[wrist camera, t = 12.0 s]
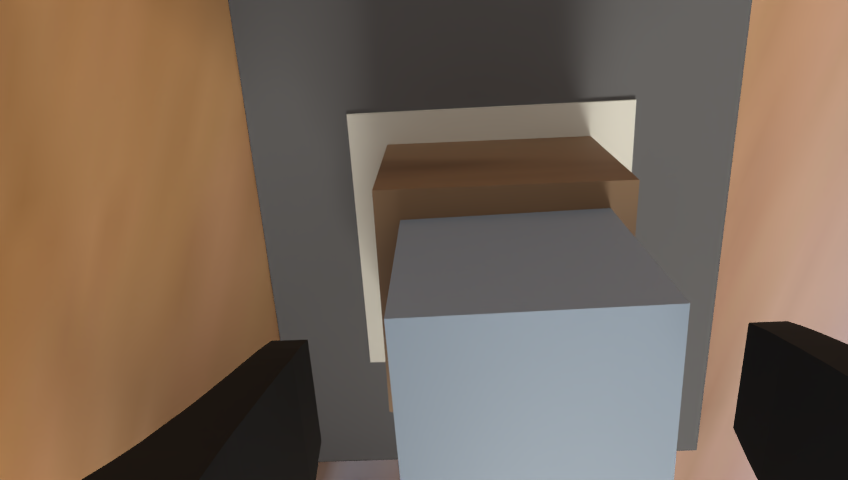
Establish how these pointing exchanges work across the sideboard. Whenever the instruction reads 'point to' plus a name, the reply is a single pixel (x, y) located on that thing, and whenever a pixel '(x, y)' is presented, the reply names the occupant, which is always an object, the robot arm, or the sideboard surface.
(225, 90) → the sideboard surface
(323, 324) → the mat
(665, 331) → the blue block
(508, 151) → the walnut block
